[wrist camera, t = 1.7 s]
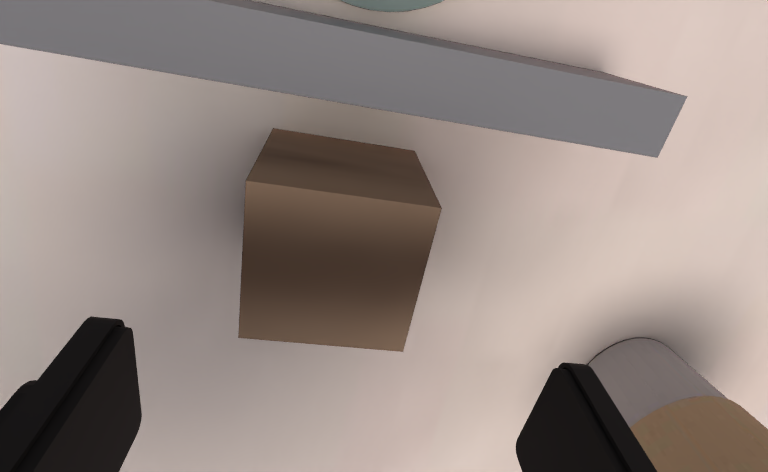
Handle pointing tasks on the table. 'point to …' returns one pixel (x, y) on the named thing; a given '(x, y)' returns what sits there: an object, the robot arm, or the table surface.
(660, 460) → the coffee cup
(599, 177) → the table surface
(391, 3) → the mat
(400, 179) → the cube
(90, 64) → the table surface
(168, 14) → the bar
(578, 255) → the table surface
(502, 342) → the table surface
